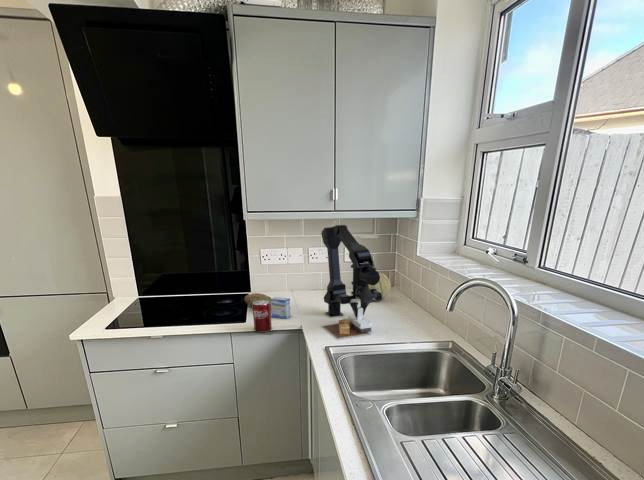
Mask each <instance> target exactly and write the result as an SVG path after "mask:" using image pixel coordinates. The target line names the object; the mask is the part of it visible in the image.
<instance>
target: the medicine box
mask: <svg viewBox="0 0 644 480" xmlns="http://www.w3.org/2000/svg"><path fill="white" fill-rule="evenodd" d="M271 298H272V299H271V318H278V319H288V318H290V317H291V298H288V297H278V296H277V297H276V296H274V297H271Z"/></svg>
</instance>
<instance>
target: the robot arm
mask: <svg viewBox="0 0 644 480" xmlns="http://www.w3.org/2000/svg"><path fill="white" fill-rule="evenodd" d="M321 238H322V243H323V244H324V246H325V248H326V249H327V263H328V272H329V281H328V284H327V286H326V293H325V294H324V296H323V301H324V303H326V304H327V305H328V306H327V307H328V308H327V309H328V311H326V312H325V314H326V315H327V316H329V317H330V318H334V317H341V316H344V313H342V312H341V310H342V309H341V306H342V305H348V304H349V305H350V307H351V310H352V312H353V315H355V317H357V307H359V303H358V302H357V300H360V307H362V308H363V316H365V313H366V310H367V309H368V308H367V307H368V306H369V305H370V304H371V303H373V301H375V300H377V301H382V300H383V299H382V293H381V292H379V291H377V289H369V287H368V286H369V285H368V284H370V285H376V284H377V283H378V282H379V280H380V275H379V273H378V272H379V271H378V270H377V267H375V261H374V259H373V257H372V254H371V252H370V249H368V248H367V247H366V246H365V245H363V244H360V243H359V241H357V239H356V238H355V237H354V235H353V234H352V233H351V232H350V230H349V228H348V226H347V225H346V224H336V225H333V226H329V227H328V226H327V227H324V228H323V229H322V231H321ZM341 243H342V244H343V245H344V247H345V248H346V250H347V251H348V258H349V260H350V261H351V263H352V264H351V265H350V268H351V269H352V281H351V285H352V291H351V293H350V294H351V295H349V294H347V289H346V288H347V287H346V283H343V281H342V280H341V266H340V253H339V247H340V244H341ZM373 298H374V299H375V300H373Z"/></svg>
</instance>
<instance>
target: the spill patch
mask: <svg viewBox="0 0 644 480" xmlns="http://www.w3.org/2000/svg"><path fill="white" fill-rule="evenodd" d="M323 328H324V329H326V330H327V331H328V332H329V333H331V334H332V335H333V336H334V337H336V338H337V339H342V338H348V337H355V336H361V335H369V334H370V333H369V331H367V332H359V331H358V330H356V329H355V328H353V327H352V326H351V328H349V334H340V333H339V327H338V323H336V324H328V325H323Z"/></svg>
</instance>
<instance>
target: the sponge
mask: <svg viewBox="0 0 644 480" xmlns="http://www.w3.org/2000/svg"><path fill="white" fill-rule="evenodd" d="M272 298H273V297H271V296H269V295H267V294H264V293H259V292H253V293H250V294H246V295H245V296H244V302H245V304H247V305H249V306H250V307H252V304H253V302H255V301H268V302H269V303H270V309H271V299H272Z"/></svg>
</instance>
